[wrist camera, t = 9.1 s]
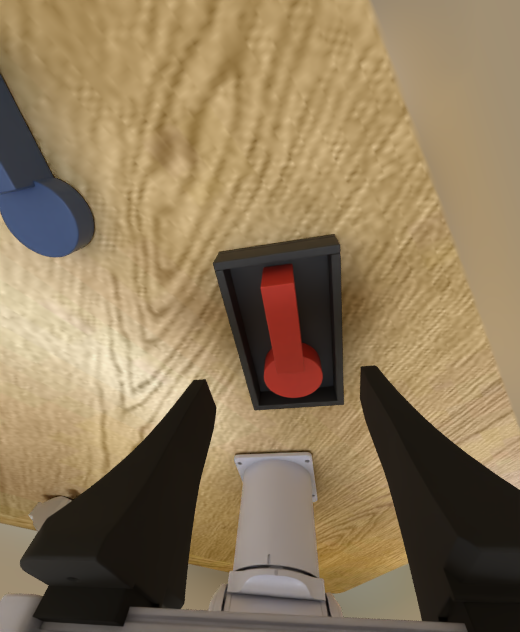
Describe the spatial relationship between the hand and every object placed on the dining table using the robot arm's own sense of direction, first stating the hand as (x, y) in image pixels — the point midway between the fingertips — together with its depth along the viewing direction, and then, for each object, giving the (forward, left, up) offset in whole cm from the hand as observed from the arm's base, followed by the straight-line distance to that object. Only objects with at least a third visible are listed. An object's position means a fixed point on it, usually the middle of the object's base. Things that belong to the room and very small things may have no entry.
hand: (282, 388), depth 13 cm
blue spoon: (+11, +12, -7) cm, 18 cm away
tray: (-2, 0, -7) cm, 7 cm away
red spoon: (-2, 0, -7) cm, 7 cm away
